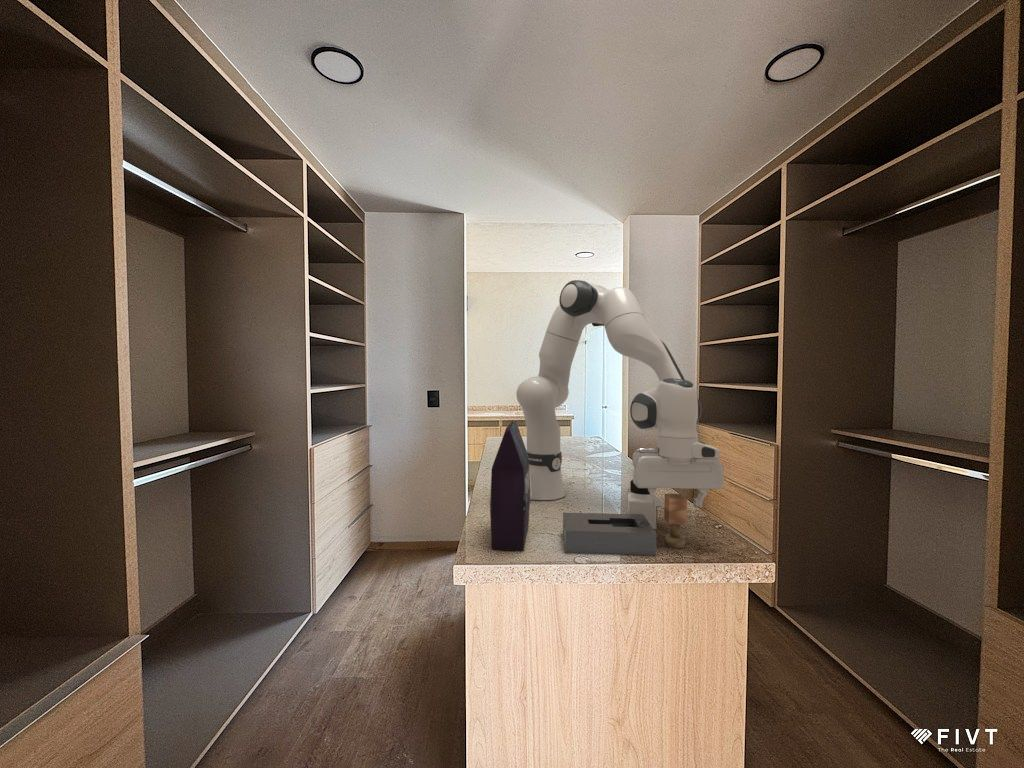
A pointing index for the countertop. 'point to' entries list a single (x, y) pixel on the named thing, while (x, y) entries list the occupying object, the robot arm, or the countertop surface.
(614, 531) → the keyhole plate
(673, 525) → the slider
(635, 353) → the robot arm
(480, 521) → the countertop surface
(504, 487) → the decorative box
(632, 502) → the medicine bottle
